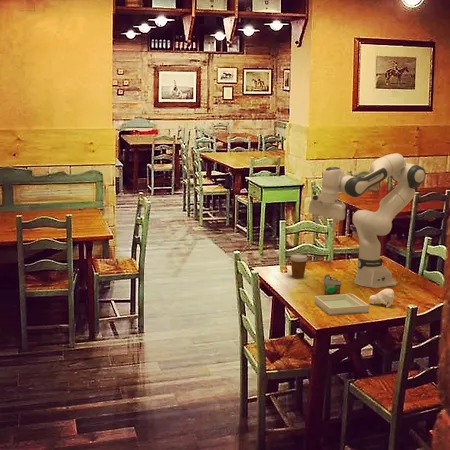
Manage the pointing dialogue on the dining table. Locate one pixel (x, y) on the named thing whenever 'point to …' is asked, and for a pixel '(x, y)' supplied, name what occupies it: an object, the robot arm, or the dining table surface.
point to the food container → (331, 285)
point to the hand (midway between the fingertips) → (324, 225)
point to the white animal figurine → (383, 297)
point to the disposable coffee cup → (298, 265)
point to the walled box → (341, 304)
